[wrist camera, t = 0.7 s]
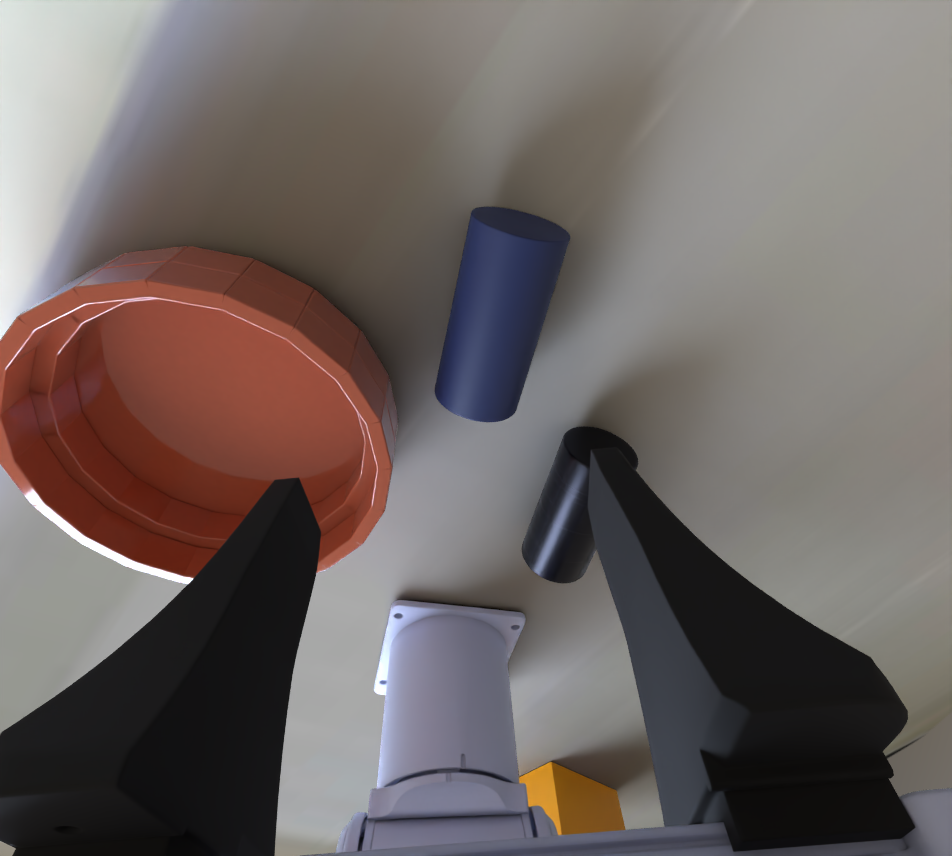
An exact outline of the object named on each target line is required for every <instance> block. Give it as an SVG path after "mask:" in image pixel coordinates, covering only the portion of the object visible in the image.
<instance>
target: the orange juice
mask: <svg viewBox="0 0 952 856" xmlns="http://www.w3.org/2000/svg"><path fill="white" fill-rule="evenodd" d="M519 783H525V784H526V788H527V797H528V806H529V807H530V806H537V805H538V806H541V807H542V808H543V809H544V811H545V813H546V814H547V815H548V816H549V817H550V818H551V820H552V821H553V822H554V824H555V827H556V830H557V833H558V835H568V834H581V833H593V832H606V831H619V830H625V826H624V821H623V817H622V813H621V808H620V804H619V799H618V795H617V791H616V790H614V789H612V788H609V787H607V786H605V785H603V784H600V783H598V782H596V781H594V780H591V779H589V778H587V777H585V776H582V775H580V774H578V773H576V772H573V771H571V770H569V769H567V768H564V767H562V766H560V765H558V764H555V763H553V762H549V763H547V764H545V765H543V766H541V767H539V768H537V769H535V770H533V771H531V772H529V773H527V774H525V775H523V776H521V777H519Z"/></svg>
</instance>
